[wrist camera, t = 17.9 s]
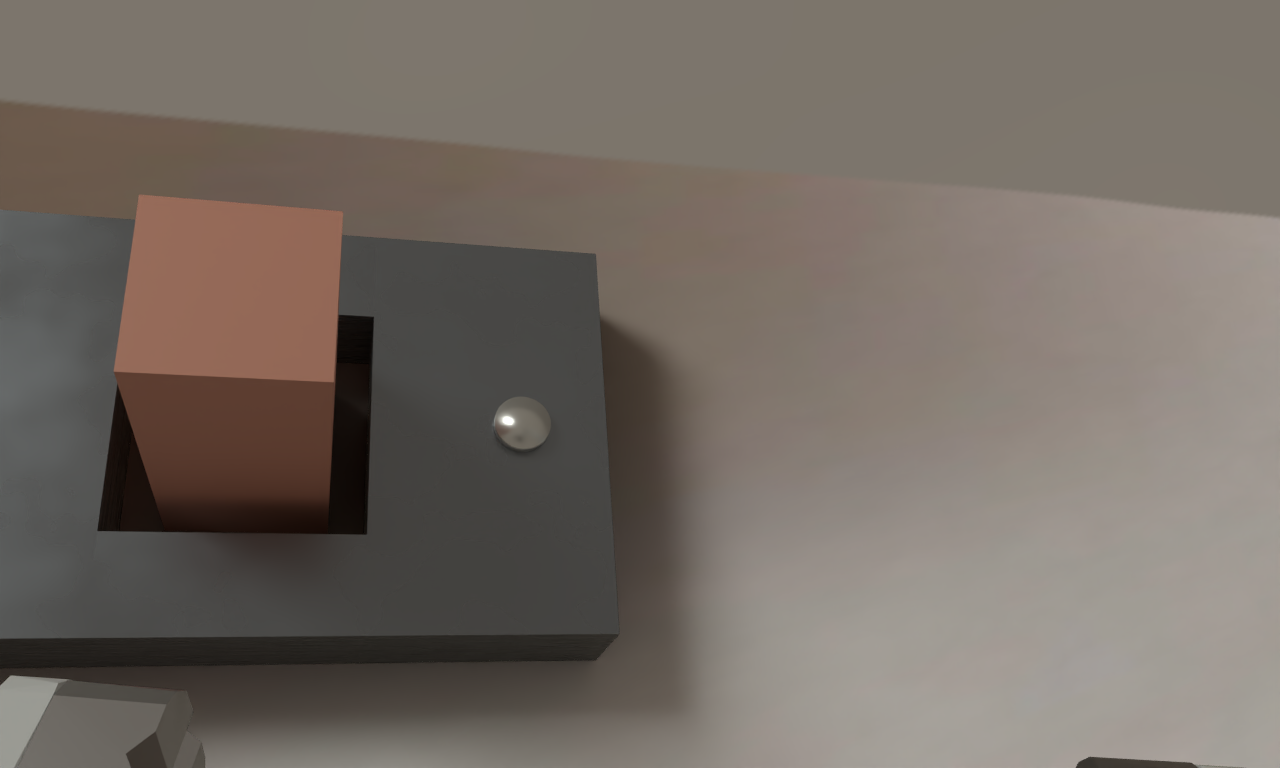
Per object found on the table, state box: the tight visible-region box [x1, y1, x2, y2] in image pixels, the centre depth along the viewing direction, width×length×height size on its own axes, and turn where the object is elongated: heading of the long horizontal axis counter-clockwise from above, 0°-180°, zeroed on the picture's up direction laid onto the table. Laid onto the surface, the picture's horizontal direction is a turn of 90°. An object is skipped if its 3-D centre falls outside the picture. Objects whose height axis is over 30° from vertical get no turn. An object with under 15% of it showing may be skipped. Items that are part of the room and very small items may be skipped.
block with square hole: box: [0, 210, 619, 668], centre depth 33 cm, size 20×12×3 cm, turn 94°
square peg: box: [114, 195, 343, 534], centre depth 30 cm, size 4×4×10 cm
